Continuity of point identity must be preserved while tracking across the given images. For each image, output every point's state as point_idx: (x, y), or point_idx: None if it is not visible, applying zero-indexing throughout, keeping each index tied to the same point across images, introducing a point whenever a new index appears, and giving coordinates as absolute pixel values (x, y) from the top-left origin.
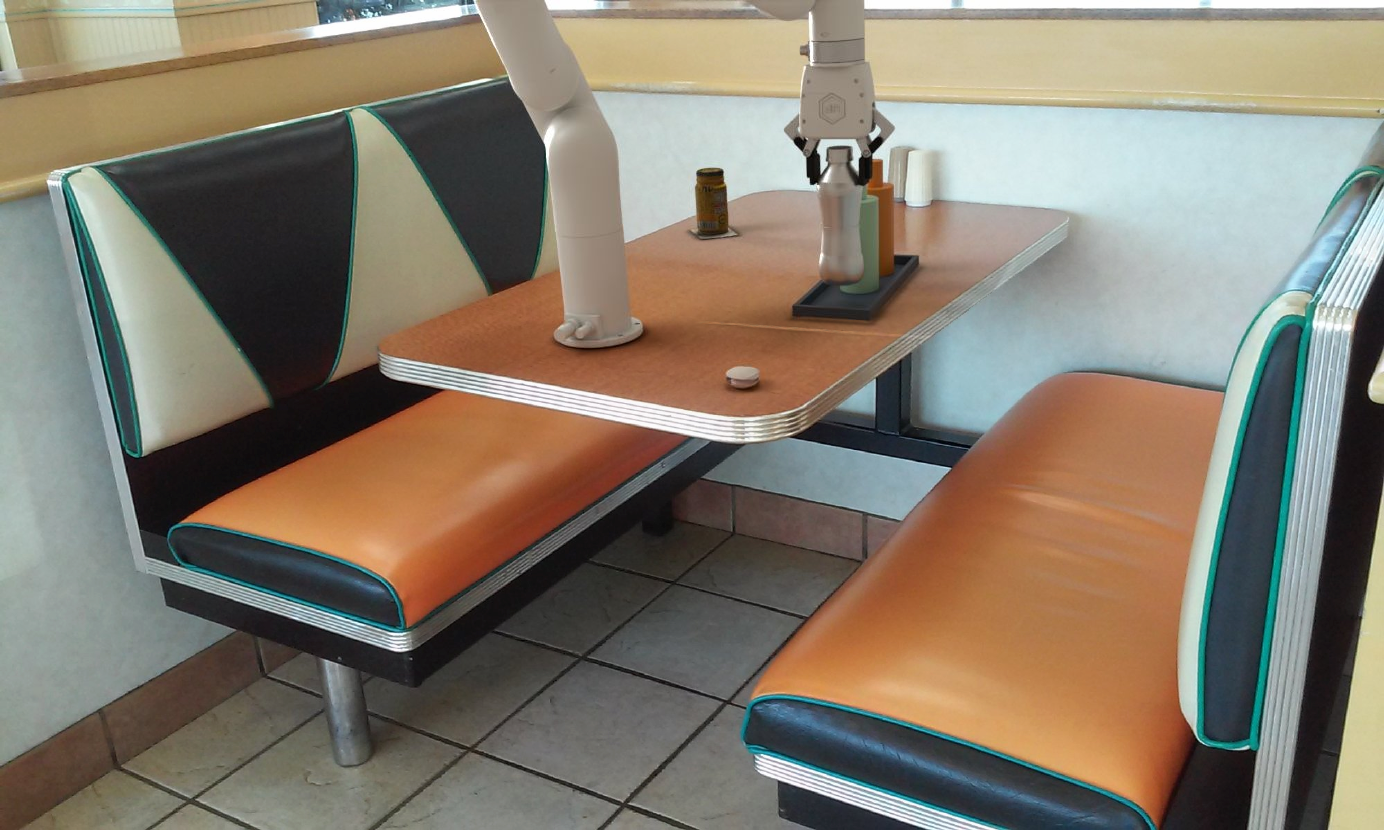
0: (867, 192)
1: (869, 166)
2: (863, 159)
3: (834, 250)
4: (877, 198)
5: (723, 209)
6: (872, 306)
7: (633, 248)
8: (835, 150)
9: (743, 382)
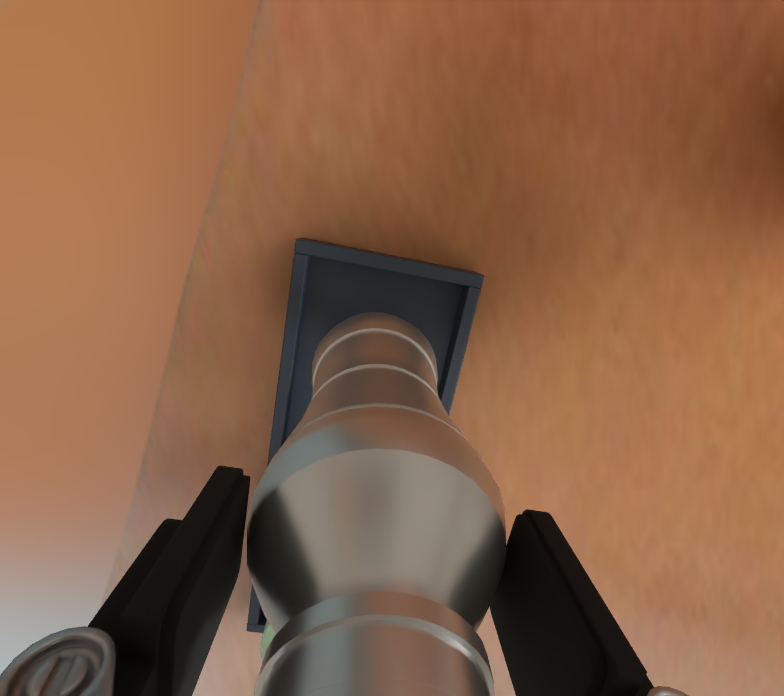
0: None
1: (124, 578)
2: (129, 610)
3: (389, 340)
4: (263, 654)
5: None
6: (293, 270)
7: None
8: None
9: None
